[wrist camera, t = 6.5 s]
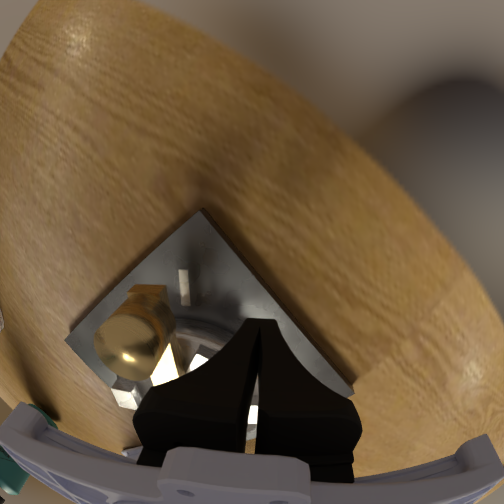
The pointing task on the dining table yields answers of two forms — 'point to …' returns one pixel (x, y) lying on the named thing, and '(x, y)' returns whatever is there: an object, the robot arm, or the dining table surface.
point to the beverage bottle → (15, 467)
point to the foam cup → (1, 321)
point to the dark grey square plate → (207, 298)
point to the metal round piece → (156, 346)
